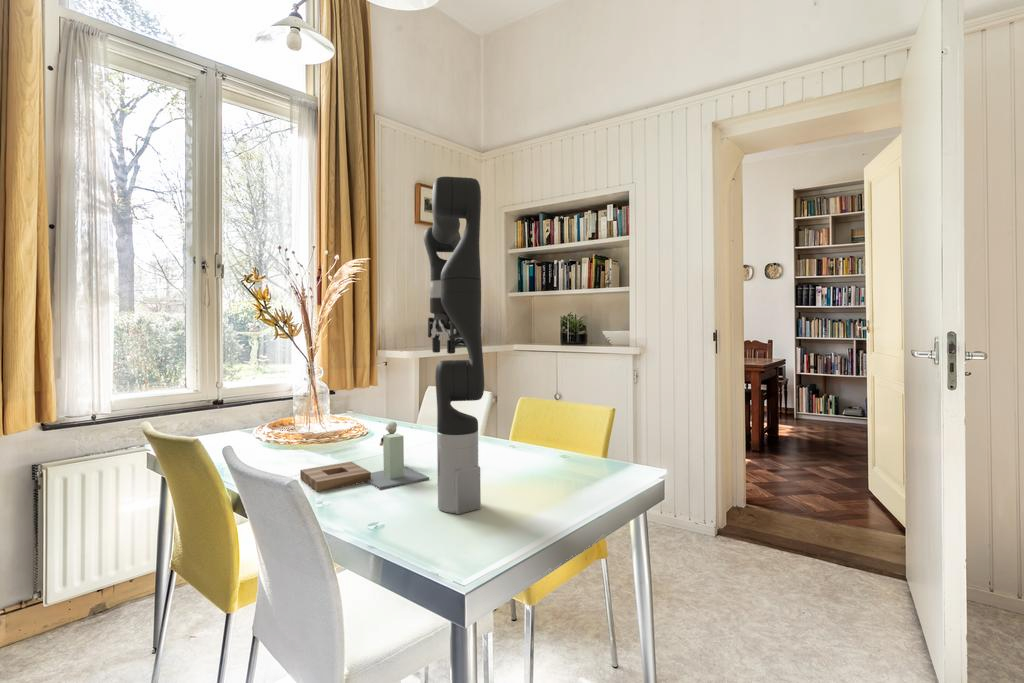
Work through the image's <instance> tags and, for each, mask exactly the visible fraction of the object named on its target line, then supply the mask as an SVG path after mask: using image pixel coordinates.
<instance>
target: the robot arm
mask: <svg viewBox="0 0 1024 683" xmlns="http://www.w3.org/2000/svg"><path fill="white" fill-rule="evenodd" d="M434 180H435V181H434V182H433V186H432V191H431V208H432V217H433V223H432V227H431V226H430V227H428V228H426V230H425V231H424V234H423V242H424V246H425V250H426V253H427V255H428V260H429V265H430V266H429V267H430V270H429V271H430V284H429V285H430V287H429V312H430V313H431V314H434V316H433V317H431V316H430V317H428V318H427V337H428V338H430V339H431V340H432V349H431V350H432V353H440V352H441V340H440V338H441V336H442V335H445V337H446V349H447V350H446V353H447V354H451V355H453V354H456V340H457V339H459V338H460V337H461V338H462V341H463V342H464V345H465V347H466V350H467V353H468V359H456V360H455V359H452V360H451V359H449V360H447V359H445V360H444V359H443V360H440V361H438V362H437V365H436V367H435V376H434V377H435V392H436V393H435V394H436V395H435V396H436V412H437V414H436V415H437V416H436V417H437V419H436V426H437V427H436V431H437V432H436V435H437V438H436V440H437V441H436V443H437V444H436V445H437V447H436V448H437V454H436V455H437V456H436V457H437V459H436V460H437V508H438V509H439V511H442V512H445V513H452V514H455V515H460V514H465V513H469V512H471V511H472V512H473V511H476V510H479V509H481V508H482V507H481V500H482V499H481V498H482V497H481V495H482V494H481V466H480V465H479V421H478V419H477V417H475V416H474V415H470V414H467V413H464V412H462V411H460V410H457V409H456V408H455V407H453V406H452V404H451V403H452V402H465V401H467V402H469V401H471V402H473V401H479V400H481V399H482V398H483V396H484V392H485V370H484V369H485V368H484V356H483V345H482V344H483V343H482V276H481V275H482V274H481V273H482V272H481V257H480V256H481V254H480V250H481V249H480V235H481V234H480V231H481V210H482V209H481V208H482V207H481V206H482V204H481V203H482V195H481V194H482V193H481V186H480V182H479V181H478V180H477V179H476V178H473V177H463V176H461V177H458V176H439V177H438V178H436V179H434ZM460 219H465V229H464V231H463V234H462V236H461V234H460V227H461V221H460ZM438 253H451V254H450V256H449V258H448V259H444V258H441V257H440V256H439V254H438Z"/></svg>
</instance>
